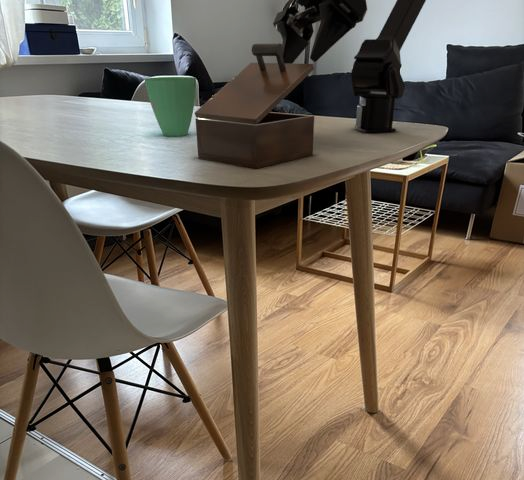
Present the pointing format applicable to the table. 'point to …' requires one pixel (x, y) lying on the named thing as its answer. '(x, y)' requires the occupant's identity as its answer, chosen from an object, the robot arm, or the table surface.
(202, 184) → the table surface
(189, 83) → the mug
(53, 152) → the table surface
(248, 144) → the keepsake box
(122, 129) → the table surface
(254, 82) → the lid
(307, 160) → the table surface
